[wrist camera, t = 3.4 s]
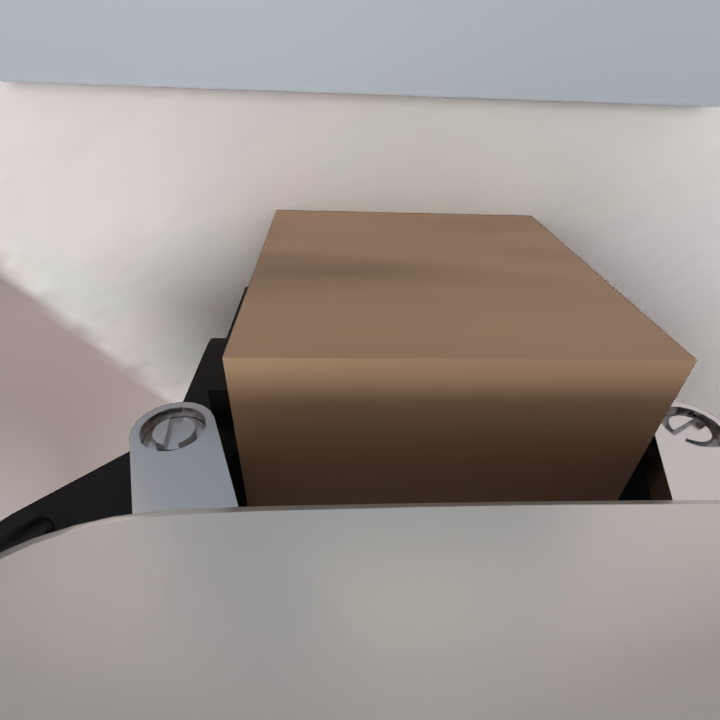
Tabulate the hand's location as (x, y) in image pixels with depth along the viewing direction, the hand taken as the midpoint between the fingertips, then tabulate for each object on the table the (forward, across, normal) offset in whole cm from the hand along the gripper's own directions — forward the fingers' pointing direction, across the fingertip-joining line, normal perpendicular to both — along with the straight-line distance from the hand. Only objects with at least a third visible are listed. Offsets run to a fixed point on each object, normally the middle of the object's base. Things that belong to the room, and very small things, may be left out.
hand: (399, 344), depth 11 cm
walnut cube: (+1, 0, 0) cm, 1 cm away
